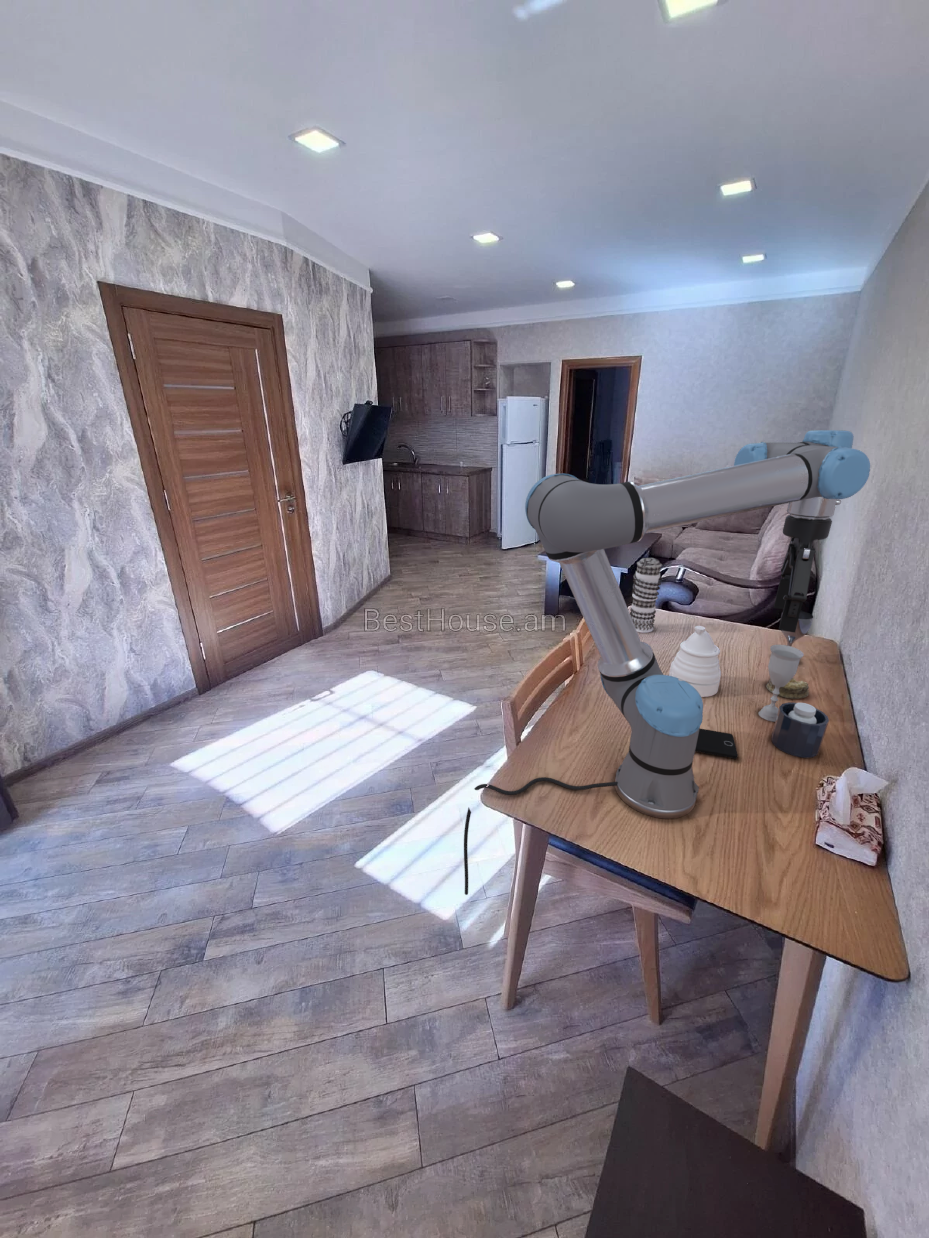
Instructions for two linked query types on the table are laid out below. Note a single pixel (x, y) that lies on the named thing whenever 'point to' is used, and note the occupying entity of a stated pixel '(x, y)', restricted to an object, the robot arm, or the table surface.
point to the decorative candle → (645, 594)
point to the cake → (791, 689)
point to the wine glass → (799, 628)
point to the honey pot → (698, 663)
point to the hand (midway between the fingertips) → (783, 619)
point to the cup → (798, 733)
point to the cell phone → (716, 743)
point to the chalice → (780, 674)
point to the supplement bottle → (803, 713)
